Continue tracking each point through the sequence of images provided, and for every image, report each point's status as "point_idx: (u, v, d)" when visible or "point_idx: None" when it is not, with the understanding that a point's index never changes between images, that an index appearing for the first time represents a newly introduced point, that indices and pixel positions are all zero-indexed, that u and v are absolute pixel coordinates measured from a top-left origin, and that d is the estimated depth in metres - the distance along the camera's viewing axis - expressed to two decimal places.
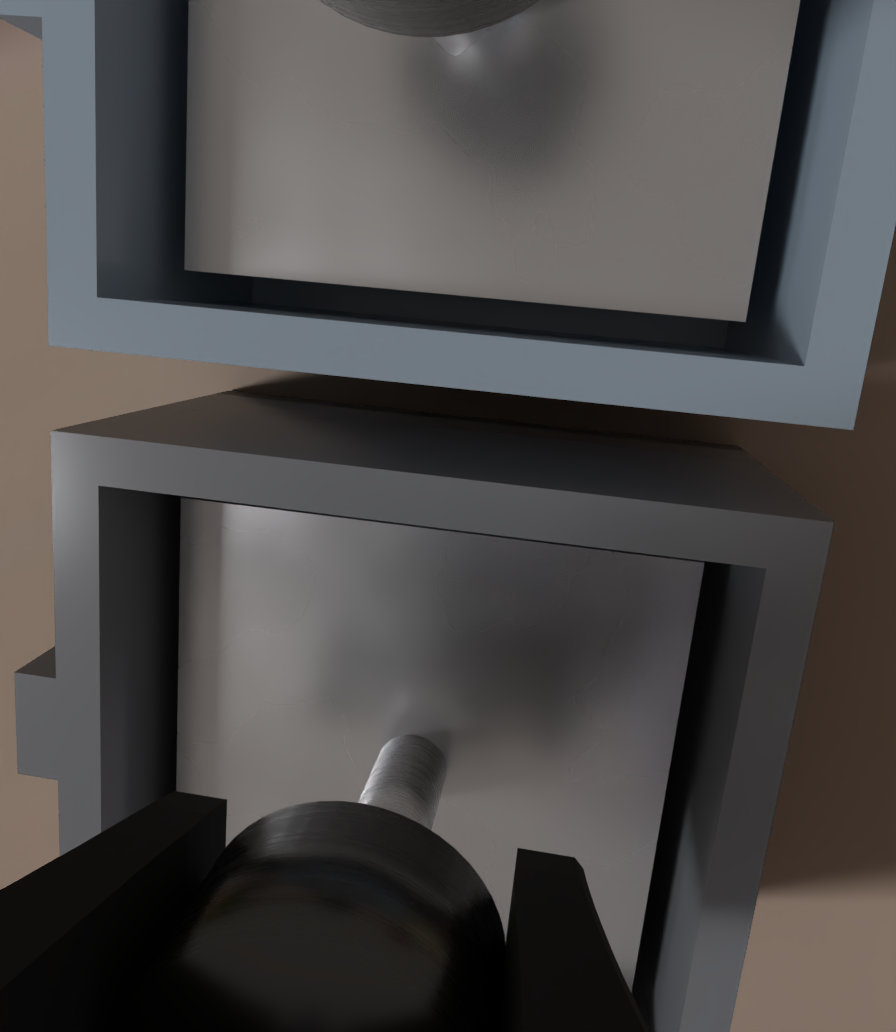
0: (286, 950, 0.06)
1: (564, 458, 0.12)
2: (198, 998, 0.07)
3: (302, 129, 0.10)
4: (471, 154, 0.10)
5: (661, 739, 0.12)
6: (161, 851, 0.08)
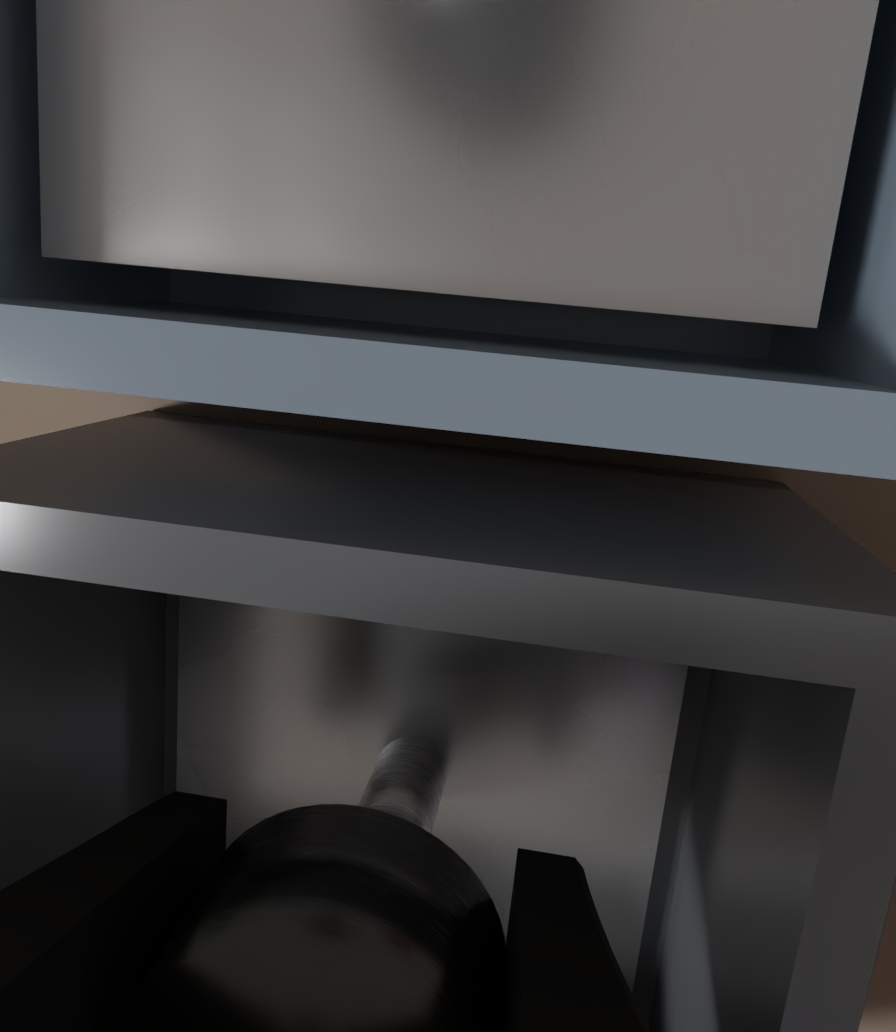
0: (287, 954, 0.06)
1: (562, 510, 0.09)
2: (197, 1003, 0.07)
3: (195, 58, 0.07)
4: (430, 92, 0.07)
5: (662, 742, 0.12)
6: (161, 851, 0.08)
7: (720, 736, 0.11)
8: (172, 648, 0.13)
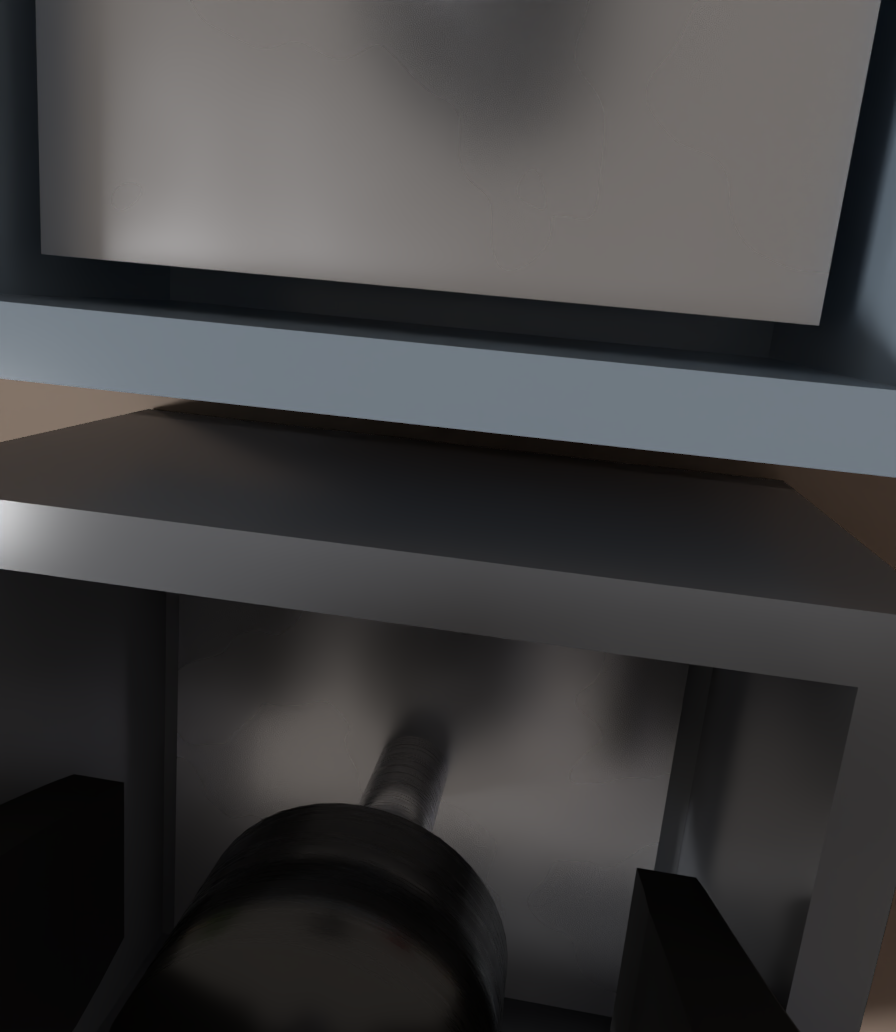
0: (286, 952, 0.06)
1: (563, 508, 0.09)
2: (198, 1002, 0.07)
3: (195, 55, 0.07)
4: (431, 88, 0.07)
5: (664, 741, 0.11)
6: (39, 830, 0.08)
7: (721, 735, 0.11)
8: (173, 647, 0.13)
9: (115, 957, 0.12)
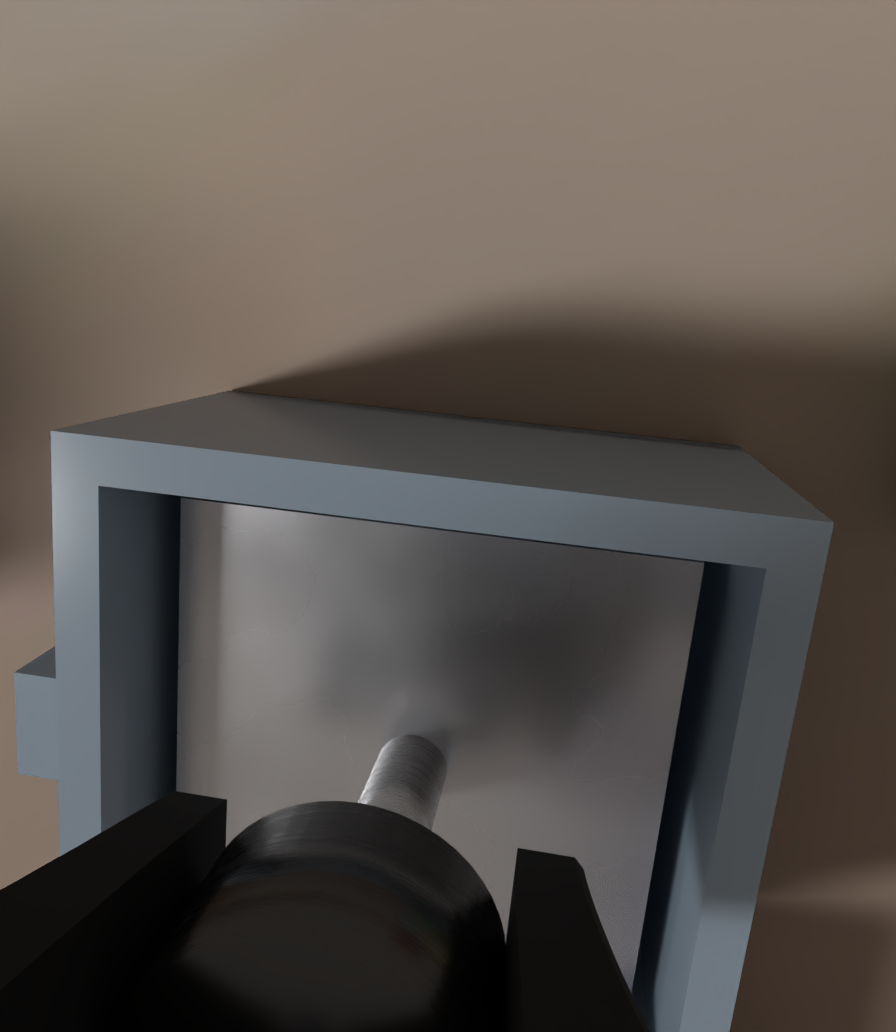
0: None
1: None
2: None
3: None
4: None
5: None
6: (159, 850, 0.08)
7: None
8: None
9: None
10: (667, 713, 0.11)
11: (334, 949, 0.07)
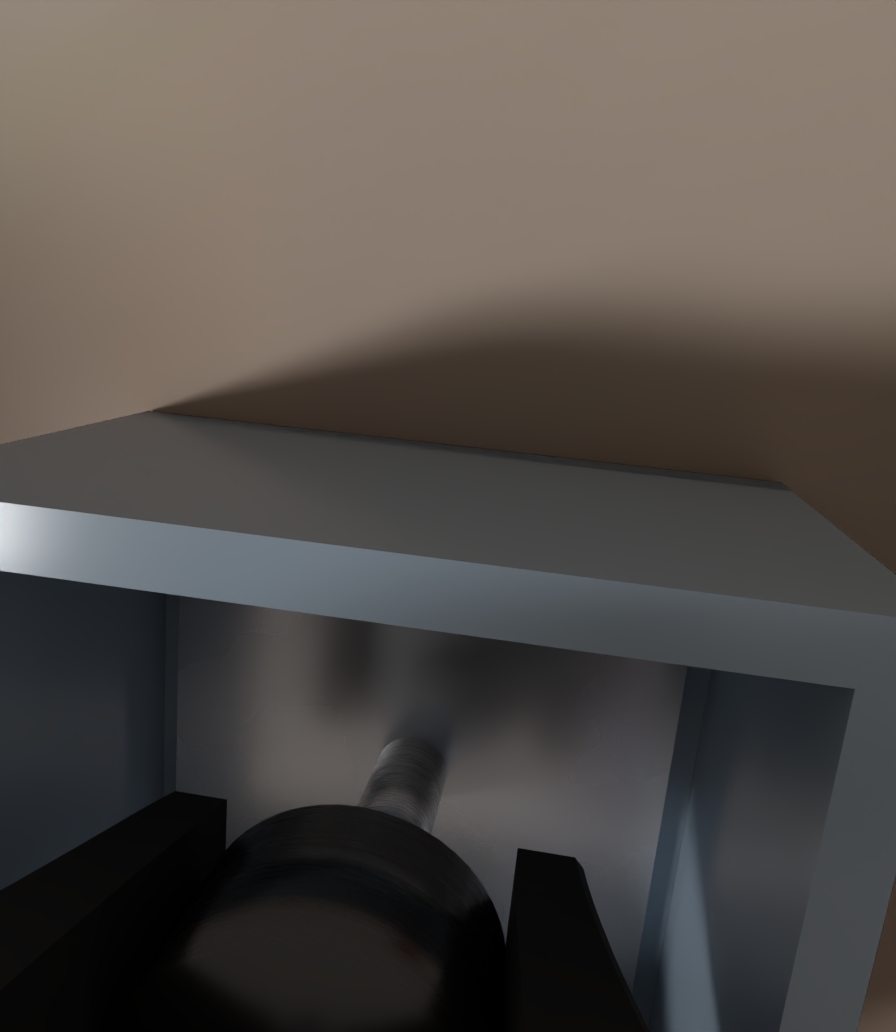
0: None
1: None
2: None
3: None
4: None
5: None
6: (159, 850, 0.08)
7: None
8: None
9: None
10: (667, 716, 0.11)
11: (334, 954, 0.07)
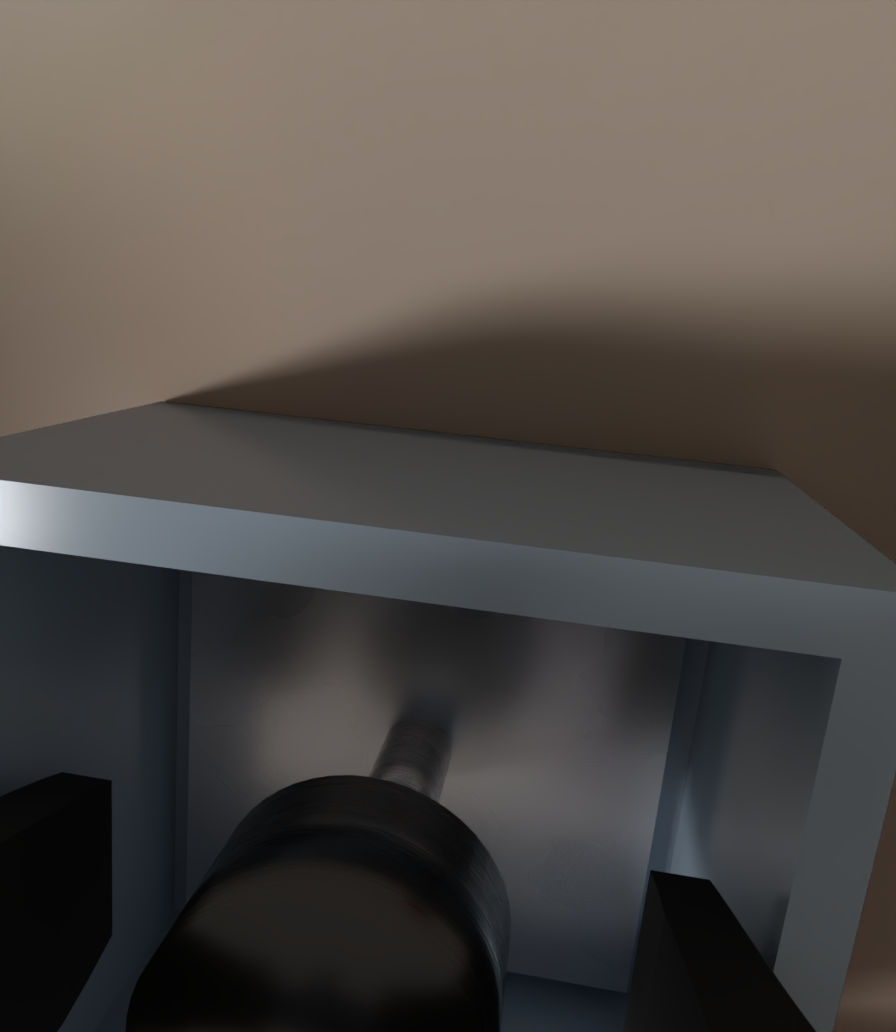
0: None
1: None
2: None
3: None
4: None
5: None
6: (24, 826, 0.08)
7: None
8: None
9: None
10: (665, 696, 0.12)
11: (351, 908, 0.07)
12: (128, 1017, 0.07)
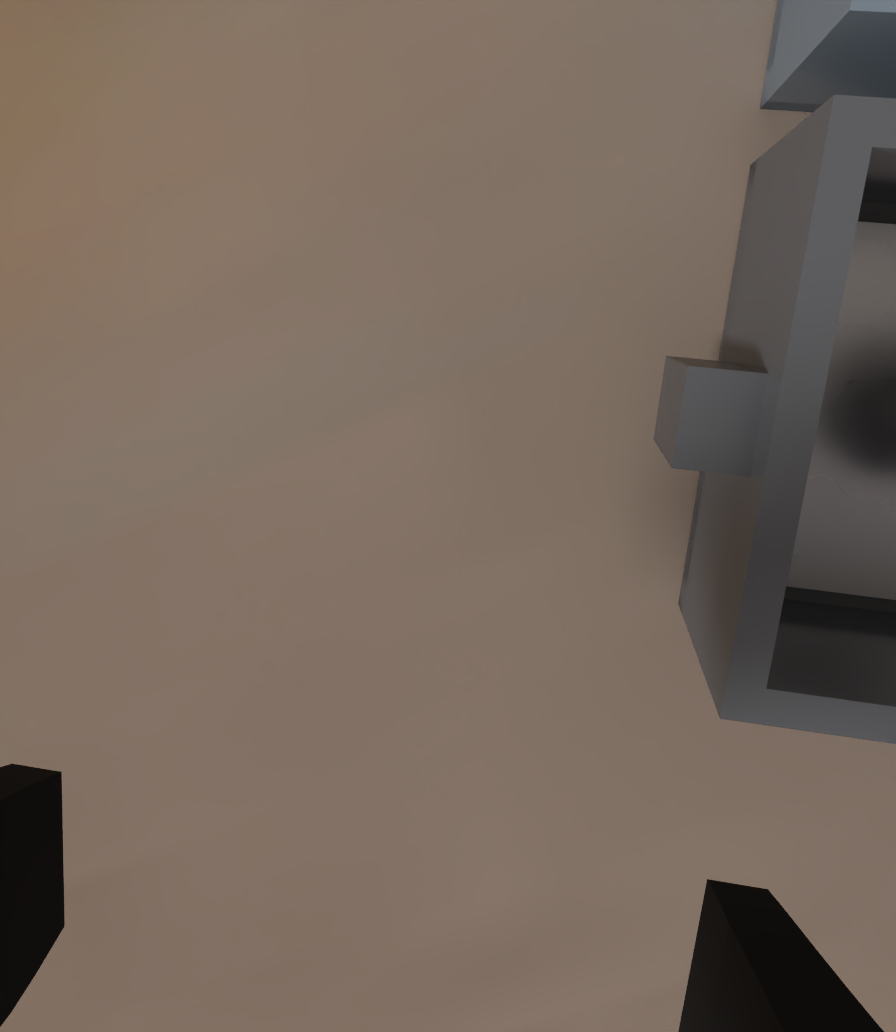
0: None
1: None
2: None
3: None
4: None
5: None
6: None
7: None
8: None
9: None
10: None
11: None
12: None
